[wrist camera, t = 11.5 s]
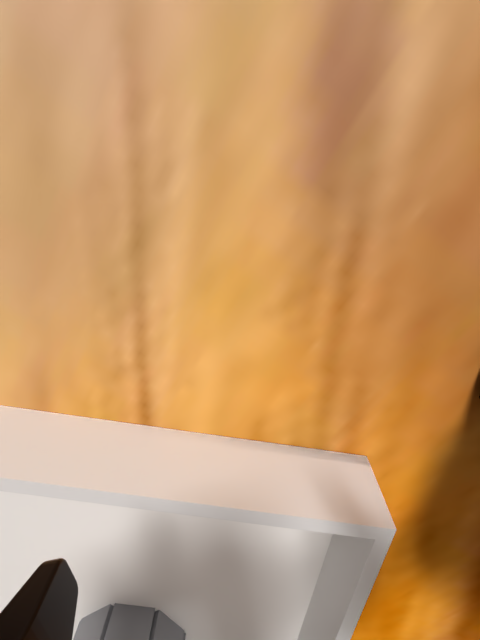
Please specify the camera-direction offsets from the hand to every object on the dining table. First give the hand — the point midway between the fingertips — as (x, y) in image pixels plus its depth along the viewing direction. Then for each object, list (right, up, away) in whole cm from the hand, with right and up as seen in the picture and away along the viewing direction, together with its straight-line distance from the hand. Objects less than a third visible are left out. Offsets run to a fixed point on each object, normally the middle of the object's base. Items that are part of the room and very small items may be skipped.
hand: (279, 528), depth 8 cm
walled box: (-7, -13, +19) cm, 24 cm away
